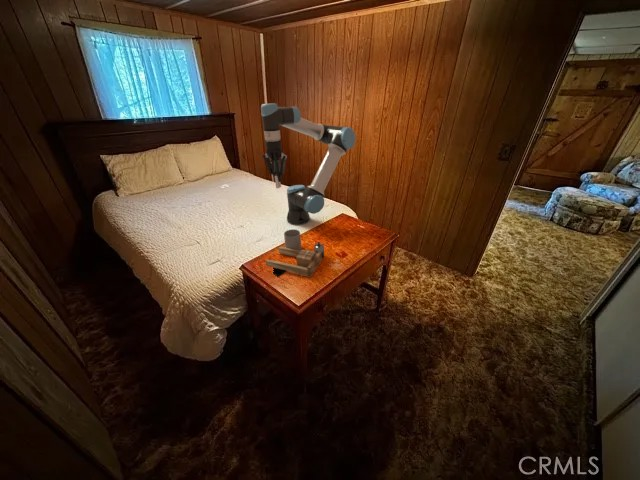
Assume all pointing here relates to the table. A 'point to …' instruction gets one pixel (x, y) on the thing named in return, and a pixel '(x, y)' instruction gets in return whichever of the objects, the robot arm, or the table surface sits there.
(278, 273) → the smartphone
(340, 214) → the table surface
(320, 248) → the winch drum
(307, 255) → the crate
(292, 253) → the bay
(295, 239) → the cup
